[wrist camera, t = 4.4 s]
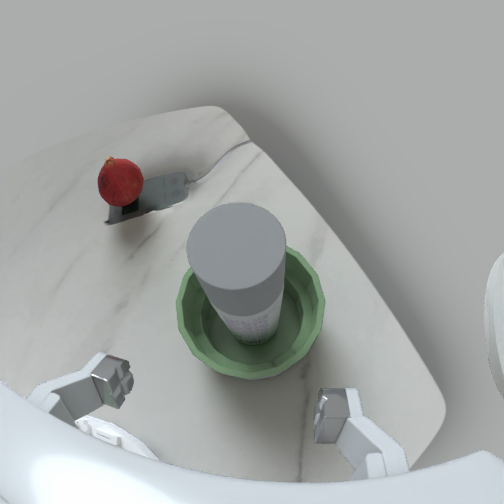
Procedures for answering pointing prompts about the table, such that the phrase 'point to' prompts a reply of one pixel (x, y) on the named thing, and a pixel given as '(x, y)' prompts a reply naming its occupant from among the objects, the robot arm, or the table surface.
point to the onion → (119, 181)
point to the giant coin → (113, 435)
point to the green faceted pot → (264, 355)
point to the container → (241, 267)
